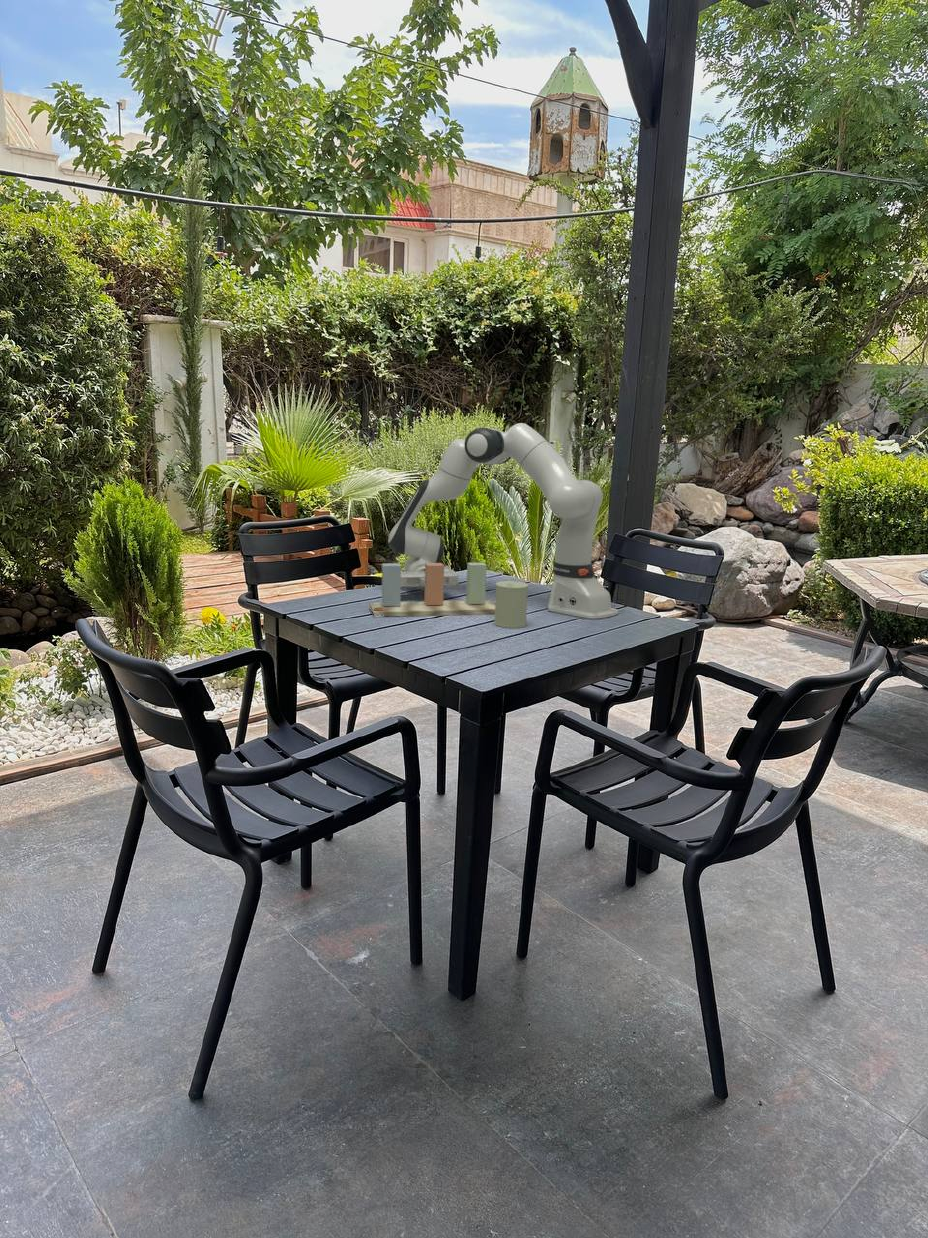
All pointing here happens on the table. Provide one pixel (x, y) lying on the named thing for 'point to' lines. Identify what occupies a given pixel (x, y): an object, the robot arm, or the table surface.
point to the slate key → (391, 584)
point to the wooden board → (433, 609)
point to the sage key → (476, 583)
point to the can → (511, 604)
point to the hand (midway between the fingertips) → (430, 584)
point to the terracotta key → (434, 583)
